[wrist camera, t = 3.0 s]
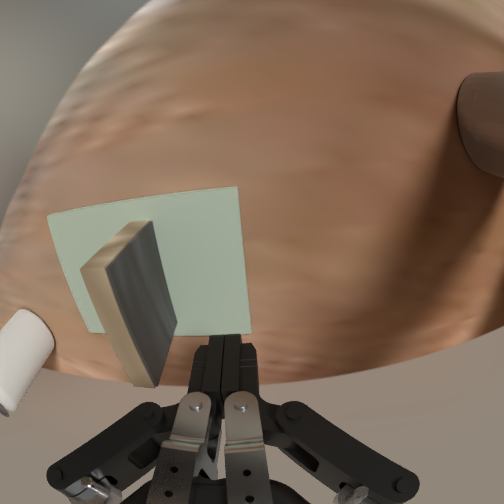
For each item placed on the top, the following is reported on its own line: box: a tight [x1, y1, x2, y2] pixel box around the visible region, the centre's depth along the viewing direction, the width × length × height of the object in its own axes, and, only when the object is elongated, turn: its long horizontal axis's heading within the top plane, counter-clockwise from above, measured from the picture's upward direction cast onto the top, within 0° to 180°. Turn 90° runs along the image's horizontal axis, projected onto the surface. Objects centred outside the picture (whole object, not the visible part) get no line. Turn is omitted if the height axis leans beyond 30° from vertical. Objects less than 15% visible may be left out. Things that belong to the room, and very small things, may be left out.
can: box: [0, 309, 54, 417], centre depth 18 cm, size 6×6×12 cm
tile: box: [79, 219, 178, 388], centre depth 17 cm, size 2×9×7 cm, turn 4°
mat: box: [46, 186, 252, 336], centre depth 20 cm, size 16×12×1 cm
